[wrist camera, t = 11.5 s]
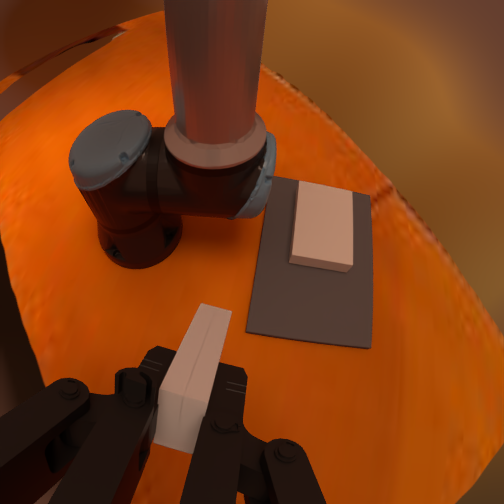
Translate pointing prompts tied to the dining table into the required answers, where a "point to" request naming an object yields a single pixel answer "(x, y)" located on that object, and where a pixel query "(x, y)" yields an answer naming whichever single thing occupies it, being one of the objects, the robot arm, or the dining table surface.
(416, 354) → the dining table surface
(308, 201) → the tile
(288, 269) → the mat
